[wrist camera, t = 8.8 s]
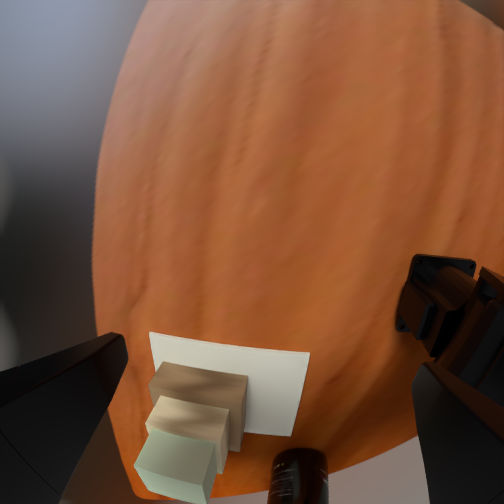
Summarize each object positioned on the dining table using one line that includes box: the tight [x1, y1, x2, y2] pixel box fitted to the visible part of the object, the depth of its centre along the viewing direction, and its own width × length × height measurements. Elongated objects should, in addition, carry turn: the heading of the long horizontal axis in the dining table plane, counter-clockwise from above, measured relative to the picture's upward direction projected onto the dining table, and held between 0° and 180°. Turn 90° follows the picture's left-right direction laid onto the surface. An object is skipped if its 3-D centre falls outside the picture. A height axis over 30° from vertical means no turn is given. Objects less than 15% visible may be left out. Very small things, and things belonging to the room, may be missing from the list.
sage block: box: [134, 429, 217, 504], centre depth 16 cm, size 5×5×4 cm
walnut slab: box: [148, 361, 248, 452], centre depth 23 cm, size 8×8×4 cm
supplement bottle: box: [267, 448, 329, 504], centre depth 21 cm, size 7×7×12 cm
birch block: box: [145, 395, 230, 474], centre depth 20 cm, size 6×6×4 cm
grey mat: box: [149, 332, 310, 436], centre depth 24 cm, size 14×12×1 cm
